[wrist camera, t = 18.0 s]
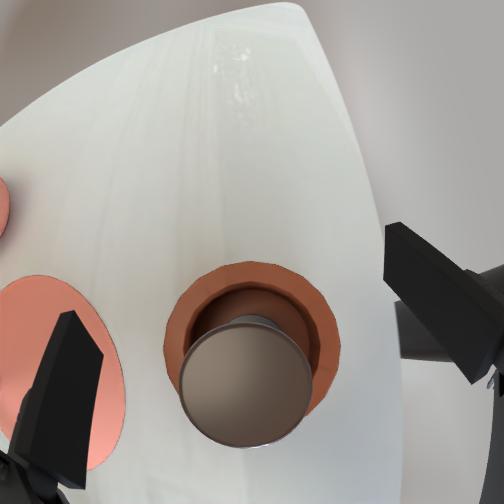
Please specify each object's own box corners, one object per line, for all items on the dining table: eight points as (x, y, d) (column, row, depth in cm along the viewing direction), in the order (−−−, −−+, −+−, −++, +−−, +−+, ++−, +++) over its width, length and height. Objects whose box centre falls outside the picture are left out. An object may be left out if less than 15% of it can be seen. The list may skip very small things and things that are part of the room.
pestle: (288, 332, 24) (426, 310, 4) (264, 382, 23) (308, 537, 3) (238, 309, 24) (181, 199, 5) (214, 358, 23) (71, 428, 4)
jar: (332, 315, 25) (365, 304, 17) (281, 422, 22) (293, 457, 15) (223, 265, 26) (211, 234, 18) (171, 371, 24) (137, 383, 16)
